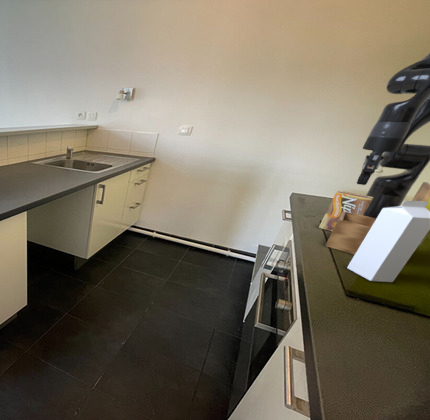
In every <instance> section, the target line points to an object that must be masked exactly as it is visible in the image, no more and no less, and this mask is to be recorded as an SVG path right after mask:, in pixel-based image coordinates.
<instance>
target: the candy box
mask: <svg viewBox="0 0 430 420" xmlns="http://www.w3.org/2000/svg"><path fill="white" fill-rule="evenodd" d="M373 198H374V197H370V196H366V194H365V195H364V194H359V193H354V192H349V191H344V190H337V191H336V192H335V194H334V196H333V198H332V200H331V202H330V203H329V206H328V208H327V210H326V212H325V214H324V216H323V218H322V220H321V222H320V224H319V226H318V228H319V229H322V230H325V231H328V232H332V230H333V228H334V226H335V225H336V223H337V221H338V219H339V217H340V215H341V213H342V212H343V211H345V212H350V213H354V214H359V215H364V214H365V212H366V210H367V208H368V207H369V205H370V203H371V201H372V200H373Z"/></svg>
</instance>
